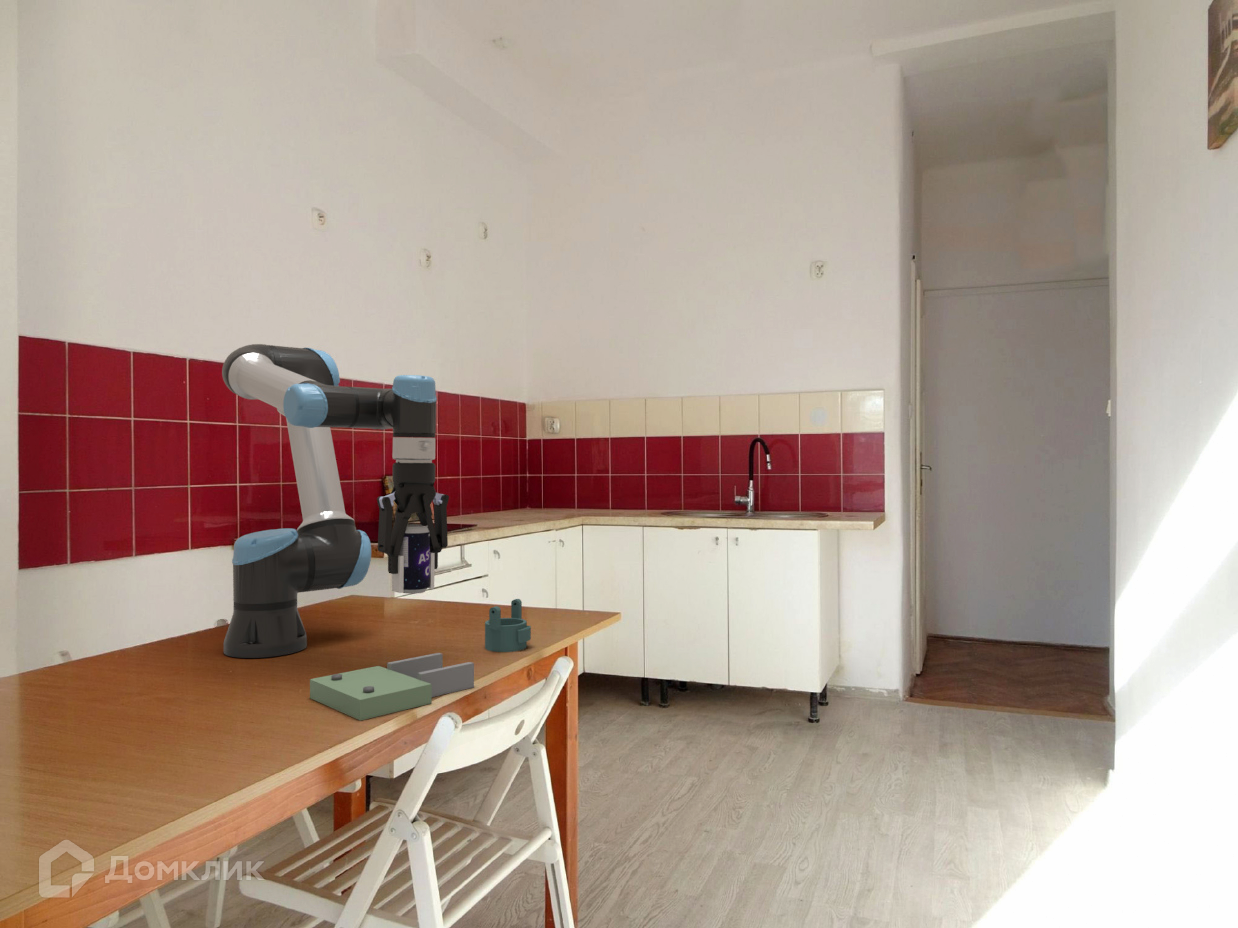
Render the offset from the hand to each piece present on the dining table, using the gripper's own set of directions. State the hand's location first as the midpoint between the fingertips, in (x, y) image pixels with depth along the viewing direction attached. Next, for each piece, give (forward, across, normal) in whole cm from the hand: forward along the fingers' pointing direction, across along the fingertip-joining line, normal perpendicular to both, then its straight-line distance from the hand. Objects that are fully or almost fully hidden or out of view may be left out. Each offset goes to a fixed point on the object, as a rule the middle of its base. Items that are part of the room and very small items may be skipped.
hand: (413, 589), depth 153 cm
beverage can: (+1, 0, 0) cm, 1 cm away
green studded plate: (+14, -11, -14) cm, 22 cm away
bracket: (+14, +22, 0) cm, 26 cm away
